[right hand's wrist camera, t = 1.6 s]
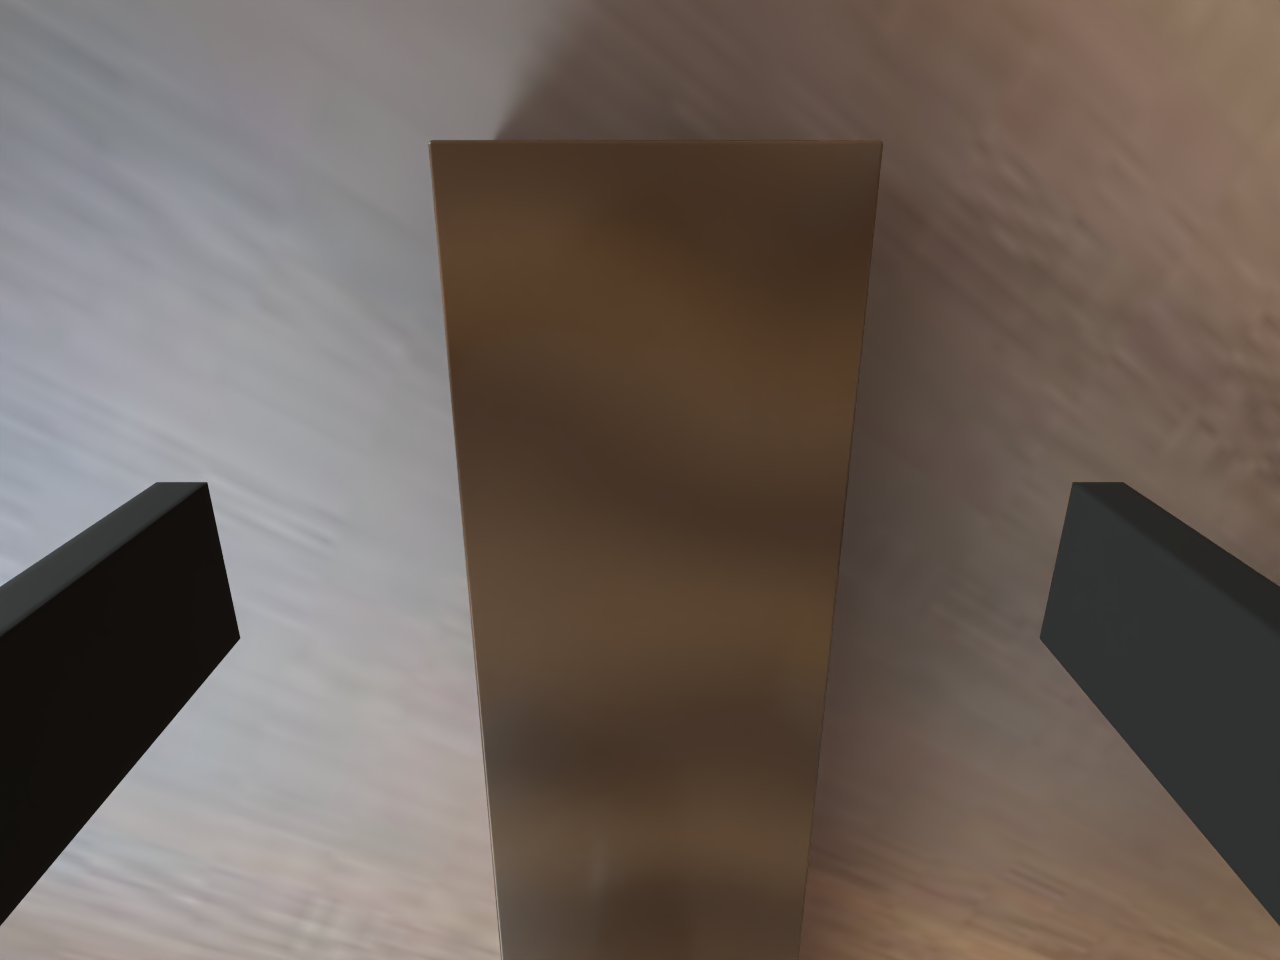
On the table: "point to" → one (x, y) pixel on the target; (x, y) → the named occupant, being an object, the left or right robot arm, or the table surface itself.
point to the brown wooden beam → (652, 521)
